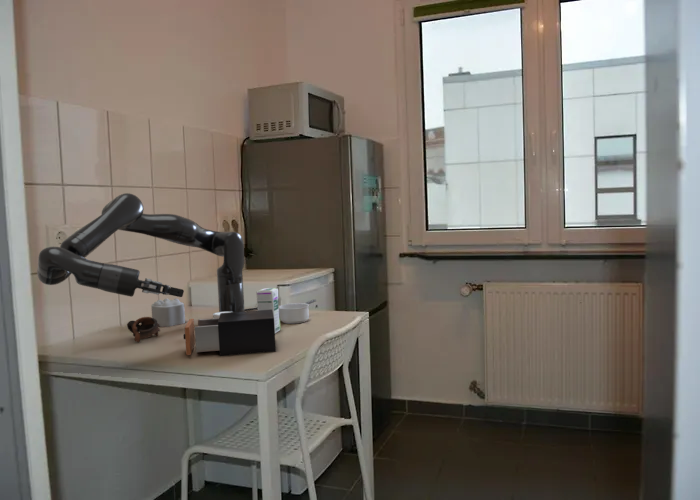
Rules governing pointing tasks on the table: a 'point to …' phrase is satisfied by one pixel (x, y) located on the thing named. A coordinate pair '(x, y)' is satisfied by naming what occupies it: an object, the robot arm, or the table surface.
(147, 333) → the brown hollow curved piece
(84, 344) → the table surface
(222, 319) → the small drawer unit
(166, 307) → the lumpy-topped squat cylinder
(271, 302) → the syrup box
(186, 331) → the orange pull-out drawer
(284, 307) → the saucepan
